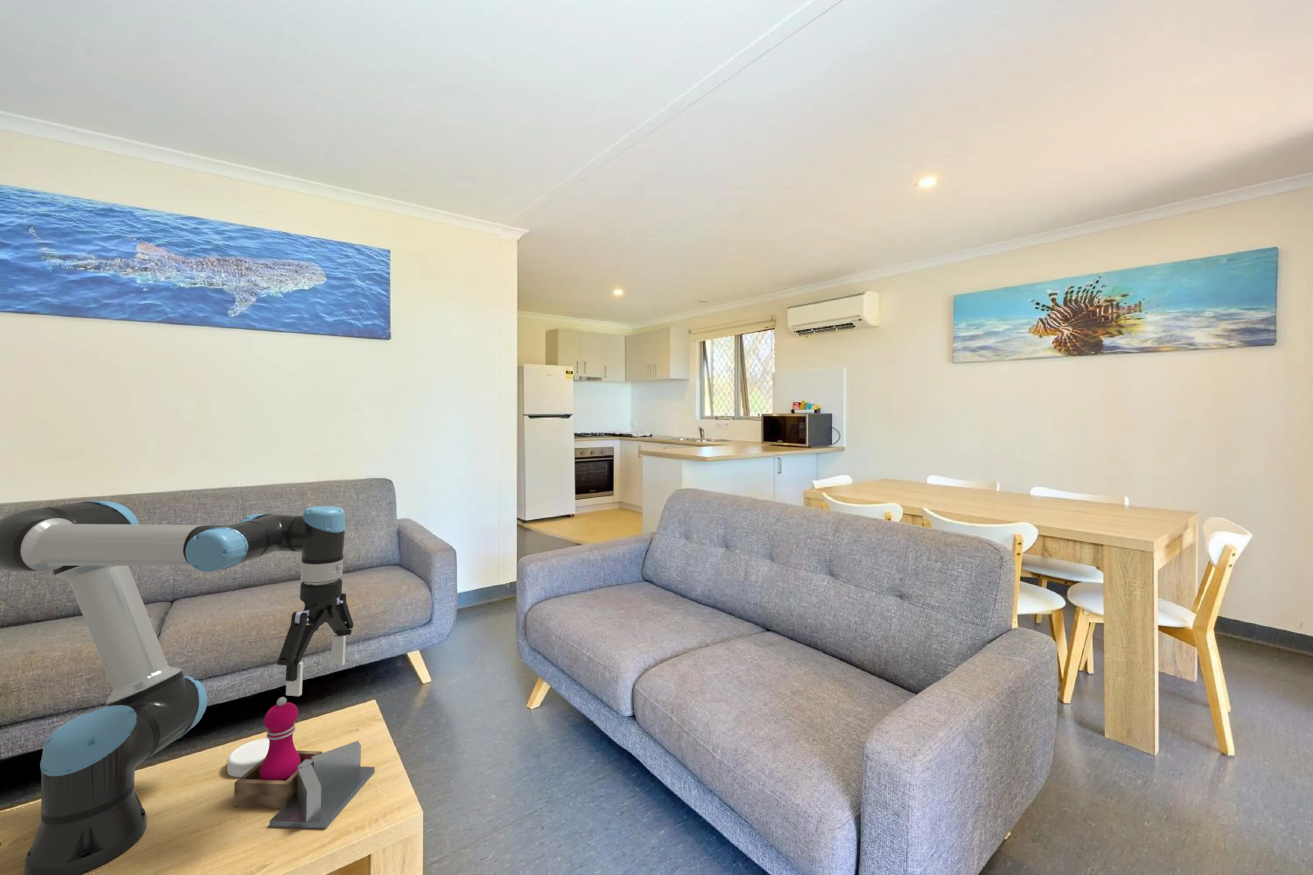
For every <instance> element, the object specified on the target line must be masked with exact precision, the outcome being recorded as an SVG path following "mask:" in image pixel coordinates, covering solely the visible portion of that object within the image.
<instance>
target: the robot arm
mask: <svg viewBox="0 0 1313 875" xmlns="http://www.w3.org/2000/svg"><path fill="white" fill-rule="evenodd" d="M346 529H347V528H346V513H345V510H344V509H343V508H342V507H340V506H336V505H335V506H333V505H326V506H325V505H321V506H311V507H308V508H306V509H304V511H303V515H290V514H289V515H288V514H273V513H263V514H262V513H259V514H258V513H257V514H251V515H250V514H249V515H248V516H246V517H245V518H244V520H241V521H240V522H238V523H232V524H228V525H227V524H226V525H218V524H217V525H215V524H214V525H213V524H210V525H203V524H139V521H138V518H137V517H136V515H135V514H134V512H132V510H130V509H129V508H128V507H127V506H125V505H123V504H121V503H118V502H115V501H111V500H110V501H108V500H98V501H93V500H88V501H87V500H85V501H81V502H75V503H67V504H61V505H55V506H47V507H40V508H39V507H37V508H29V509H24V510H20V511H18V512H13V513H10V514H8V515H7V516H5V517H3V518H1V519H0V569H2V570H6V571H10V572H51V571H52V573H53V575H54V578H57V579H60V580H64V581H67V582H69V584H70V586H71V588H72V591H73V594H74V596H75V600H76V602H77V603H78V607H79V609H80V612H81V614H82V616H83V618H84V622H85V624H86V625H87V628H88V631H89V633H90V635H91V638H92V641H93V643H94V645H95V649H96V651H97V654H98V656H99V659H100V661H101V664H102V665H103V668H104V671H105V673H106V675H107V678H108V680H109V682H110V685H111V688H112V689H113V690H112V691H111V693H110V695H109V697H108V698H107V700H106V701H105V703H106V705H107V706H105V707H101V708H97V709H94V710H93V711H91V712H89V713H88V712H86V713H83V714H80V715H78V716H76V717H74V718H72V719H70V720H69V721H67V722H65V723H64V724H62V725H61V726H58V727H57V728H56V729H55V730H54V731H53V732H52V733H50V734H49V735H48V737H47V738H46V740H45V741H44V744H43V748H42V755H41V760H40V762H39V767H40V780H41V782H40V788H41V789H40V790H41V792H40V794H41V796H40V798H41V799H40V800H41V802H40V803H41V804H40V806H41V808H40V810H41V812H40V824H39V826H38V828H37V831H36V833H35V837H34V839H33V843H32V846H31V847H30V849H29V850H28V852H27V854H26V856H25V860H24V875H81V874H84V873H86V872H88V871H89V872H90V871H92V870H94V869H96V868H98V867H100V866H103V865H105V864H107V863H108V862H110V861H112V860H113V859H115V858H117V857H118V856H120V855H122V854H123V853H125V852H127V851H128V850H129V849H130V848H131V847H132V846H134V845H135V844H136V843H137V842H139V841H140V839H141V838H142V837H143V835H144V834H145V832H146V830H147V817H148V816H147V811H146V810H145V809H144V807H143V805H142V803H141V800H140V798H139V797H138V796H139V795H138V794H137V792H136V791H135V774H136V773H135V770H136V768H137V767H138V766H140V764H142V763H143V762H145V761H146V760H148V759H149V758H151V757H152V756H153V755H155V754H157V753H158V752H159V751H161V750H162V749H164V748H166V747H167V746H168V745H170V744H171V743H174V742H175V741H177V740H179V739H181V738H182V737H184V735H186V734H187V733H188V732H189V731H190V730H191V729H192V728H194V727H195V726H197V724H198V723H199V722H200V721H201V719H202V718H203V715H204V714H205V712H206V709H207V705H208V694H207V690H206V688H205V686H204V685H203V683H202V682H201V681H200V680H199V679H198V680H195V677H192V676H189V675H184V674H183V672H182V669H181V668H179V667H174V666H171V665H169V663H168V661H167V658H166V656H165V654H164V651H163V648H162V646H161V644H160V642H159V638H158V636H157V634H156V631H155V629H154V627H153V624H152V621H151V619H150V617H149V614H148V611H147V609H146V606H145V603H144V601H143V598H142V597H141V594H140V592H139V589H138V587H137V583H136V581H135V578H134V577H133V574H132V571H131V569H130V566H131V567H139V566H140V567H149V566H150V567H193V568H194V569H196V570H198V571H200V572H206V573H211V572H217V571H223V570H226V569H227V570H228V569H229V568H230V569H231V568H232V567H235V566H236V565H237V566H238V565H239V564H242V563H245V562H248V561H251V560H254V559H257V558H261V557H262V556H265V555H268V554H271V553H274V552H298V553H299V552H300V553H301V562H300V564H301V566H300V580H301V581H302V582H301V583H300V589H299V600H300V601H301V602H303V604H304V608H303V610H302V611H293V612H292V614H291V620H290V625H289V629H288V630H287V631H288V632H287V634H286V637H285V640H284V642H283V646H282V648H281V650H280V653H279V655H278V659H277V665H278V666H286V667H285V681H286V686H285V695H286V696H292V697H300V696H302V694H303V676H304V674H303V673H304V662H303V661H301V660H302V659H303V656H304V655H305V653H306V650H307V648H308V646H309V645H310V641H311V640H312V638H313V636H314V634H315V632H316V631H318V630H319V628H320V627H321V626H323V624H325V623H327V625H328V626H329V627H330V628H331V630H332V631H333V632H334V635H332V636H331V649H330V650H331V652H330V654H331V655H330V666H344V665H345V661H346V647H347V646H346V645H347V644H346V643H347V636H350V635H352V632H353V630H352V629H353V628H354V622H353V619H352V615H351V612H350V610H349V606H348V602H347V593H342V591H343V580H342V579H341V578H342V577H343V571H344V570H343V569H344V564H343V562H344V561H343V560H344V549H345V548H344V547H345V546H344V544H345V534H346V533H345V532H346Z"/></svg>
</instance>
